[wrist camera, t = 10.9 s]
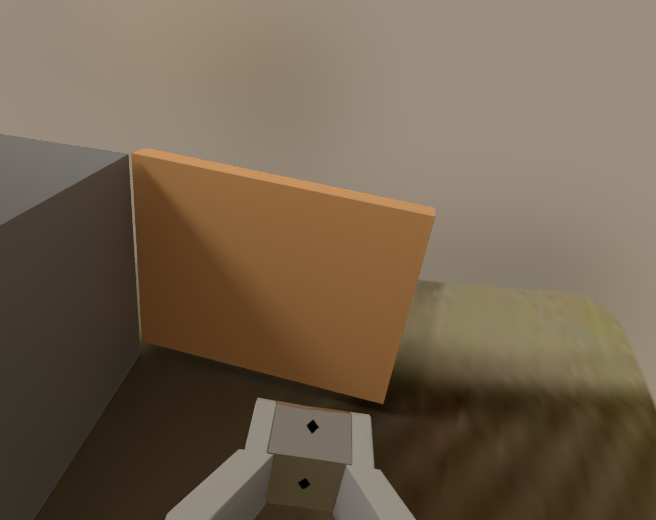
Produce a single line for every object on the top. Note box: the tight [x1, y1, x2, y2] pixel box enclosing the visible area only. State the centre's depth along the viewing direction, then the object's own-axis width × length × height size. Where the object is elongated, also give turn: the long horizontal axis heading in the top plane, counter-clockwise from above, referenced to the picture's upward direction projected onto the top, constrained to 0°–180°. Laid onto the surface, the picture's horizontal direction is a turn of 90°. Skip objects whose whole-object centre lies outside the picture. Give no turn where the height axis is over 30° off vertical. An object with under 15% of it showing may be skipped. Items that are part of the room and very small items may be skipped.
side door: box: [131, 148, 435, 404], centre depth 30 cm, size 3×18×14 cm, turn 79°
